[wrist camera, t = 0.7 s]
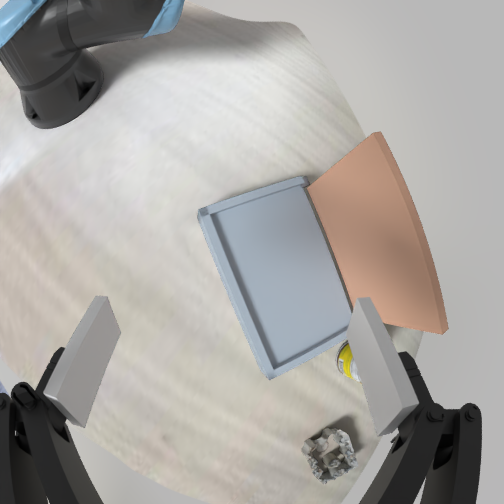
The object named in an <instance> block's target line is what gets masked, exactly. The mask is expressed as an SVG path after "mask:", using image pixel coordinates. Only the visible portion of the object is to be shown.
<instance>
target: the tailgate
mask: <svg viewBox="0 0 504 504" xmlns="http://www.w3.org/2000/svg"><path fill="white" fill-rule="evenodd" d="M307 190H308V192H309V194H310V196H311V199H312V201H313V203H314V206H315V208H316V210H317V213H318V215H319V218H320V220H321V222H322V225H323V227H324V230H325V232H326V235H327V237H328V240H329V242H330V245H331V247H332V250H333V253H334V255H335V258H336V260H337V263H338V266H339V268H340V271H341V274H342V277H343V279H344V282H345V285H346V288H347V291H348V294H349V296H350V299H351V302H352V305H353V308H354V306H355V303H356V299H357V298H363V297H370V298H371V300H372V302H373V304H374V306H375V308H376V310H377V312H378V314H379V316H380V318H381V320H382V322H383V323H386V324H391V325H395V326H400V327H405V328H410V329H415V330H420V331H426V332H431V333H437V334H444V333H445V332H446V331H447V330H448V323H447V317H446V313H445V307H444V302H443V298H442V293H441V289H440V285H439V281H438V277H437V273H436V269H435V266H434V262H433V258H432V255H431V252H430V249H429V245H428V242H427V239H426V236H425V233H424V230H423V227H422V224H421V221H420V218H419V216H418V213H417V211H416V208H415V205H414V202H413V200H412V197H411V195H410V193H409V190H408V188H407V186H406V183H405V181H404V178H403V176H402V174H401V172H400V169H399V167H398V165H397V163H396V161H395V159H394V157H393V154H392V152H391V150H390V149H389V146H388V144H387V142H386V140H385V139H384V137H383V135H382V133H381V132H375V133H372V134H371V135H370V136H369V137H367V138H366V139H365V140H364V141H363V142H361V143H360V144H359V145H358V146H357V147H355V148H354V149H353V150H352V151H351V152H349V153H348V154H347V155H346V156H345V157H343V158H342V159H341V160H340V161H339V162H337V163H336V164H335V165H334V166H333V167H331V168H330V169H329V170H328V171H327V172H325V173H324V174H323V175H322V176H321V177H320V178H318V179H317V180H316V181H315V182H314V183H312V184H311V185H310V186H309V187H308V188H307Z"/></svg>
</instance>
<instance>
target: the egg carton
mask: <svg viewBox="0 0 504 504" xmlns="http://www.w3.org/2000/svg"><path fill="white" fill-rule="evenodd" d="M331 434H334V436H333V439H334V441H335V442H337V443H338V444H339V445H340V447H339V452H341V453H342V454H343V455H344V456H345V457H344V461H343V462H342V463H341V461H340V460H339V458H338V457H336V456H335V455H334V454H333V453H328V454H326V455H325V456H324V457H323V458H322V461H323V462H324V464H325V465H326V466H327V467H328V471H327V472H326V473H324V474H322V472H323V470H322V469H321V468H320V467H319V466H318V465H317V463H318V462H317V461H318V460H316V459H315V458H314V457H313V454H312V452H313V451H314V450H315V449H316V450H317V451H318V452H323V451H325V450H326V449H327V448H328V443H327V442H326V441H327V439H328V437H329V435H331ZM301 451H302V453H303V455H304V456H305V457H306V458H307V459H309V460H308V463H309V465H310V466H311V468H312V471H313V474H314V476H315V477H316V478H317V479H318V480H319V481H320V482H322V483H323V484H326V483H327V481H329V480H335V479H336V478H337V477H339V476H342V475H343V474H345V473H348V471H349V470H351V469H354V468H356V467H358V463H357V460H356V458H355V454H354V450H353V447H352V444H351V441H350V437H349V435H348V434H347V433H345V432H343V431H342V430H338V429H337V428H334V429H329V428H326V429H324V430H322V435H321V437H320V438H318V439H317V440H311V439H310V438H309V439H307V440H306V441H304V446H303V448H302V449H301Z"/></svg>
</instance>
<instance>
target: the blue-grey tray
mask: <svg viewBox="0 0 504 504" xmlns="http://www.w3.org/2000/svg"><path fill="white" fill-rule="evenodd" d="M309 185H310V183H309V181H308V179H307V177H306V176H304V177H302V176H299V177H295V178H292V179H289V180H285V181H282V182H279V183H276V184H272V185H269V186H266V187H263V188H260V189H257V190H254V191H250V192H247V193H244V194H241V195H238V196H235V197H232V198H229V199H227V200H224V201H221V202H218V203H215V204H212V205H209V206H206V207H204V208H201V209H198V216H197V218H198V220H199V223H200V226H201V228H202V231H203V234H204V236H205V239H206V241H207V244H208V246H209V249H210V251H211V254H212V256H213V259H214V262H215V264H216V267H217V269H218V271H219V274H220V276H221V279H222V281H223V284H224V286H225V289H226V291H227V294H228V296H229V298H230V301H231V303H232V306H233V308H234V310H235V313H236V315H237V317H238V320H239V322H240V324H241V327H242V329H243V331H244V334H245V336H246V338H247V341H248V343H249V345H250V347H251V350H252V352H253V354H254V356H255V359H256V361H257V363H258V365H259V368H260V370H261V371H262V373H263V374H264V375H265V376H266V377H267V378H268V379H269V380H271V379H273V378H275V377H277V376H279V375H281V374H283V373H285V372H287V371H289V370H291V369H293V368H295V367H297V366H299V365H301V364H302V363H304V362H306V361H308V360H310V359H312V358H313V357H315V356H317V355H319V354H321V353H322V352H324V351H326V350H328V349H329V348H331V347H333V346H335V345H336V344H338V343H340V342H341V341H343V340H345V339H346V338H347V337H346V332H347V329H348V326H349V323H350V319H351V316H352V313H351V310H350V307H349V304H348V301H347V298H346V295H345V292H344V289H343V287H342V284H341V281H340V278H339V276H338V273H337V270H336V268H335V265H334V262H333V260H332V257H331V254H330V252H329V249H328V247H327V244H326V242H325V239H324V237H323V234H322V232H321V229H320V227H319V224H318V222H317V219H316V217H315V215H314V212H313V210H312V207H311V205H310V203H309V200H308V198H307V196H306V194H305V191H304V189H303V188H304V187H307V186H309Z"/></svg>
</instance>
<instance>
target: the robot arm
mask: <svg viewBox="0 0 504 504" xmlns="http://www.w3.org/2000/svg"><path fill="white" fill-rule="evenodd" d="M184 1H185V0H9V1H8V2H7V3H6V4H5V5H4V6H3V7H2V8H1V9H0V61H1V63H2V64H3V66H4V67H5V69H6V70H7V72H8V73H9V75H10V76H11V77H12V79H13V80H14V82H15V83H16V85H17V86H18V88H19V89H20V94H21V100H22V105H23V110H24V113H25V115H26V117H27V118H28V120H29V121H30V122H31V123H32V124H33V125H34V126H35V127H37V128H41V129H50V128H55V127H58V126H61V125H63V124H65V123H67V122H69V121H71V120H73V119H74V118H76V117H77V116H78V115H80V114H81V113H82V112H83V111H84V110H86V109H87V108H88V107H89V106H90V104H91V103H92V102H93V101H94V100H95V98H96V97H97V95H98V94H99V92H100V90H101V87H102V84H103V73H102V69H101V66H100V64H99V62H98V61H97V60H96V58H95V57H94V56H93V55H92V54H91V53H90V52H89V51H88V50H87V49H86V48H89V47H93V46H98V45H102V44H107V43H112V42H118V41H124V40H130V39H137V38H146V37H148V36H152V35H158V34H164V33H167V32H169V31H171V30H172V29H174V28H175V26H176V25H177V23H178V21H179V18H180V15H181V12H182V8H183V5H184ZM120 334H121V331H120V328H119V326H118V323H117V321H116V318H115V316H114V313H113V310H112V308H111V305H110V302H109V300H108V297H107V296H95V298H94V300H93V301H92V303H91V305H90V306H89V308H88V309H87V311H86V313H85V314H84V316H83V318H82V319H81V321H80V323H79V325H78V326H77V328H76V330H75V332H74V333H73V335H72V337H71V339H70V341H69V342H68V344H67V346H66V348H64V347H60V348H59V349H58V350H57V351H56V352H55V353H54V355H53V356H52V358H51V360H50V363H49V364H48V366H47V369H46V370H45V372H44V374H43V376H42V378H41V380H40V382H39V384H38V386H37V388H36V390H35V391H34V389H33V388H32V387H31V386H30V385H29V384H28V383H26V382H20V383H18V384H16V385H15V386H14V388H13V389H12V392H11V398H12V399H11V398H10V397H9V396H8V395H7V394H6V393H0V504H48V500H49V503H50V504H104V503H103V502H102V500H101V498H100V497H99V495H98V493H97V491H96V489H95V487H94V486H93V484H92V482H91V480H90V478H89V476H88V474H87V472H86V469H85V468H84V465H83V463H82V461H81V459H80V456H79V454H78V452H77V449H76V447H75V445H74V442H73V439H72V437H71V434H70V432H69V429H68V426H67V425H66V423H65V422H66V419H68V420H69V421H70V422H71V423H72V424H74V425H77V426H80V427H83V428H85V426H86V423H87V420H88V417H89V414H90V411H91V408H92V405H93V402H94V400H95V397H96V394H97V391H98V389H99V386H100V383H101V381H102V378H103V375H104V373H105V370H106V368H107V365H108V363H109V360H110V358H111V355H112V353H113V351H114V348H115V346H116V343H117V341H118V339H119V336H120ZM346 337H347V340H348V343H349V346H350V349H351V352H352V355H353V358H354V361H355V364H356V367H357V370H358V373H359V376H360V379H361V382H362V386H363V389H364V392H365V395H366V399H367V402H368V405H369V409H370V412H371V415H372V419H373V422H374V426H375V430H376V433H377V437H378V436H382V435H386V434H389V433H392V432H393V431H394V430H395V429H396V428H397V427H398V430H399V434H397V436H396V437H394V438H393V439H392V441H391V443H393V442H394V443H393V445H392V447H391V449H390V451H389V453H388V455H387V457H386V459H385V461H384V463H383V465H382V466H381V469H380V470H379V472H378V474H377V475H376V477H375V479H374V480H373V482H372V484H371V485H370V487H369V489H368V490H367V492H366V494H365V495H364V497H363V498H362V500H361V501H360V503H359V504H413V503H414V501H415V499H416V497H417V494H418V493H419V490H420V488H421V486H422V484H423V482H424V480H425V477H426V480H425V485H424V490H423V494H422V499H421V502H420V504H476V498H477V492H478V485H479V476H480V465H481V448H482V417H481V411H480V409H479V408H478V407H477V406H476V405H475V404H472V403H467V404H465V405H464V406H463V407H462V408H461V409H444V408H443V407H442V406H441V405H439V404H437V403H434V402H433V400H432V398H431V396H430V393H429V391H428V389H427V387H426V384H425V382H424V380H423V378H422V376H421V373H420V371H419V369H418V367H417V365H416V363H415V361H414V359H413V358H412V357H411V356H410V355H409V354H408V353H407V352H406V351H405V352H400V353H397V351H396V348H395V346H394V344H393V342H392V340H391V338H390V336H389V334H388V332H387V330H386V328H385V326H384V324H383V322H382V320H381V318H380V316H379V314H378V312H377V310H376V308H375V306H374V304H373V302H372V300H371V298H370V297H363V298H357V299H356V303H355V306H354V310H353V313H352V316H351V319H350V323H349V326H348V329H347V332H346ZM15 431H16V436H15ZM47 498H48V500H47Z"/></svg>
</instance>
